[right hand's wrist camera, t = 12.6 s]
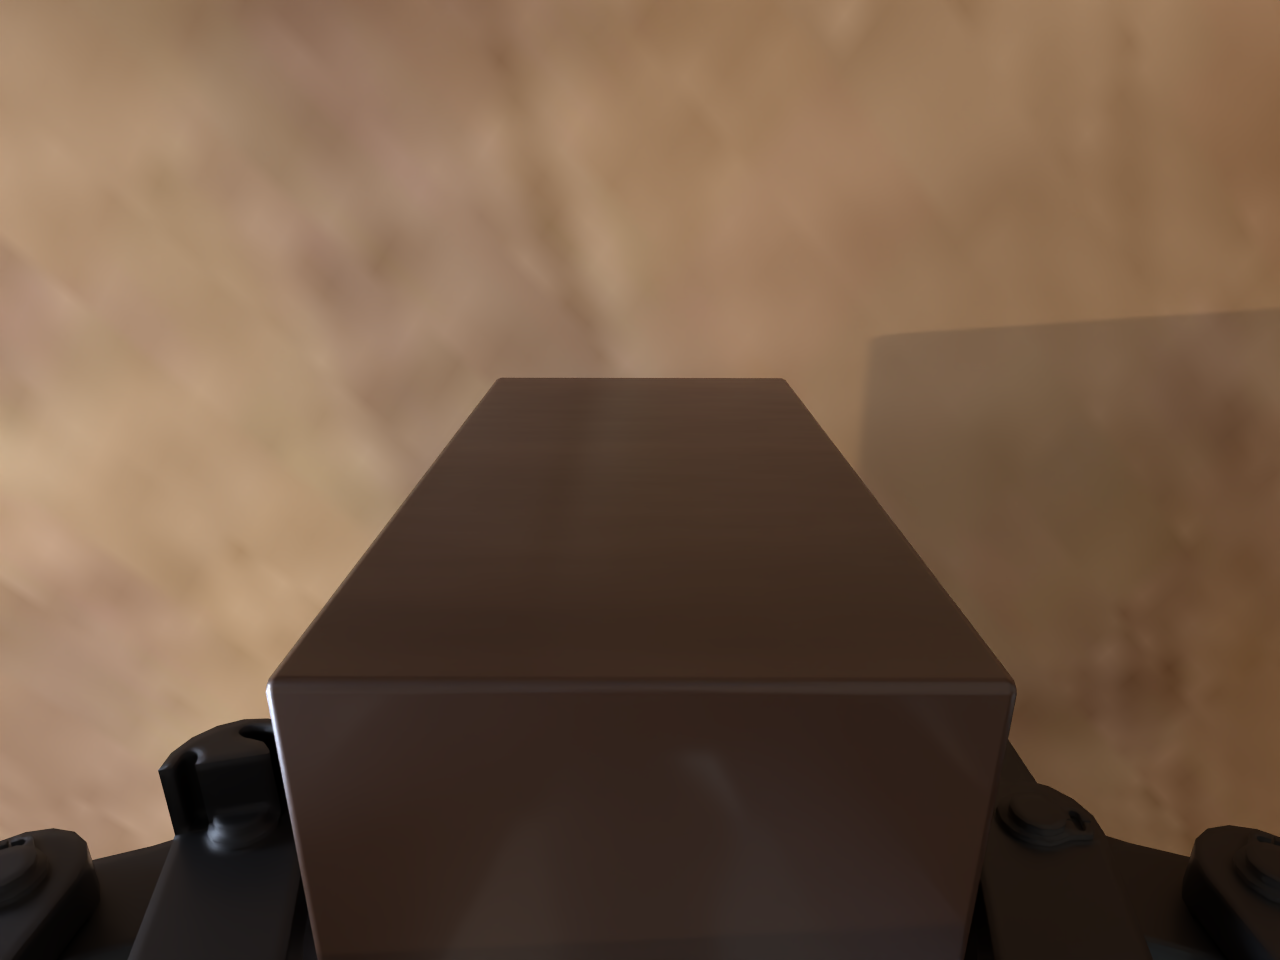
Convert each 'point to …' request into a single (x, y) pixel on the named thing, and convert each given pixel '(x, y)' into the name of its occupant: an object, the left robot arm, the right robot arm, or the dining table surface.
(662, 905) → the walnut beam
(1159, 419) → the dining table surface
